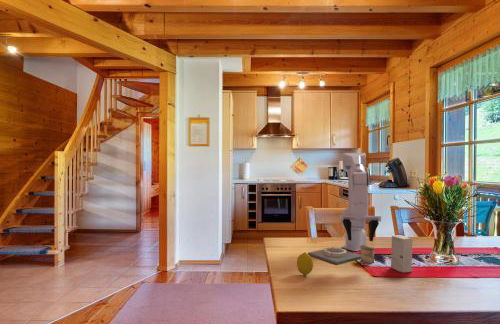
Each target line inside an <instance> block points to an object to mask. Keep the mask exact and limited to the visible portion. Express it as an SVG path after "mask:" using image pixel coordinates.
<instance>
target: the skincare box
mask: <svg viewBox="0 0 500 324" xmlns="http://www.w3.org/2000/svg"><path fill="white" fill-rule="evenodd" d="M390 258H391V259H390V268H392V269H393V270H396V272H397V271H398V272H399V273H411V272H412V271H413V270H412V266H413V265H412V263H413V238H411V237H408V236H406V235H401V234H397V235H391V256H390Z"/></svg>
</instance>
